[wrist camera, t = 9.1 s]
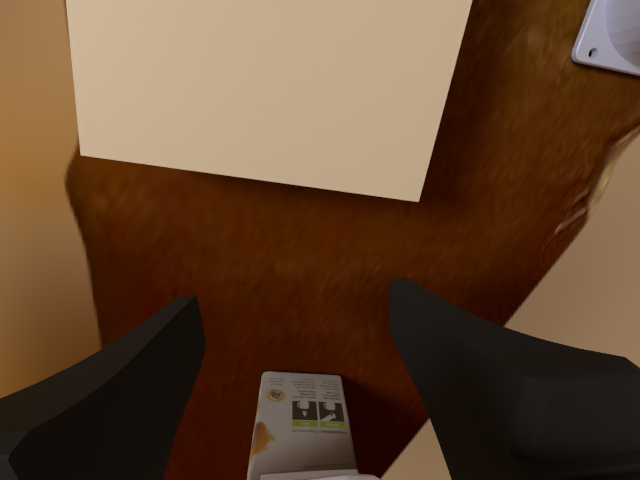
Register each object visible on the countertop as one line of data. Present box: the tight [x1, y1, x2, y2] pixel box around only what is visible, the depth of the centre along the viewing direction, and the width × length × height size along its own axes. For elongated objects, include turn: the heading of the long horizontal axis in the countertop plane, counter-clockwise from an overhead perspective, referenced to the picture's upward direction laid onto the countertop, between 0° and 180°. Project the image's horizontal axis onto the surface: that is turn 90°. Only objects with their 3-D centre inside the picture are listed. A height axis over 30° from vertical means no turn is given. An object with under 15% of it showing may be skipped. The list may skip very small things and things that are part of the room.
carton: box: [66, 0, 472, 202], centre depth 14 cm, size 14×12×6 cm
